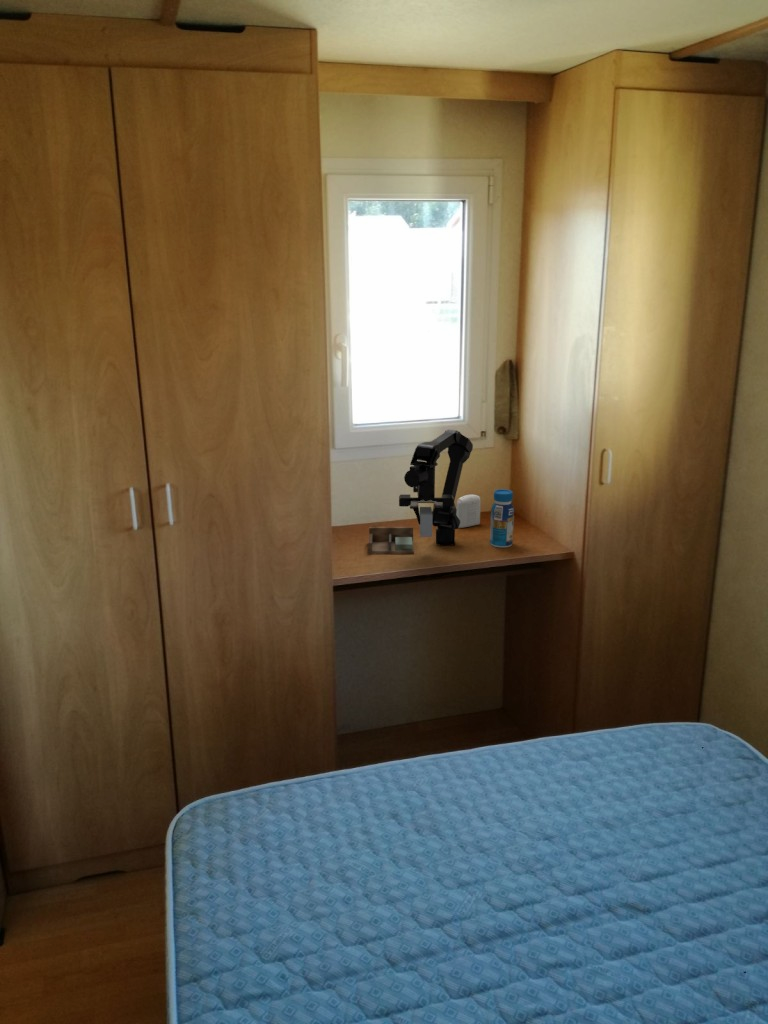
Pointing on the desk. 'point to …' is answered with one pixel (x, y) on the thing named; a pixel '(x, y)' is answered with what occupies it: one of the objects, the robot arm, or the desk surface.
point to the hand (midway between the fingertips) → (425, 524)
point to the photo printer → (468, 510)
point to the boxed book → (426, 521)
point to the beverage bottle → (502, 519)
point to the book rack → (391, 540)
